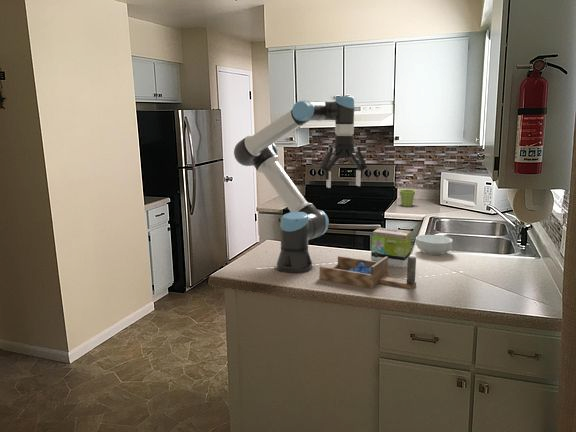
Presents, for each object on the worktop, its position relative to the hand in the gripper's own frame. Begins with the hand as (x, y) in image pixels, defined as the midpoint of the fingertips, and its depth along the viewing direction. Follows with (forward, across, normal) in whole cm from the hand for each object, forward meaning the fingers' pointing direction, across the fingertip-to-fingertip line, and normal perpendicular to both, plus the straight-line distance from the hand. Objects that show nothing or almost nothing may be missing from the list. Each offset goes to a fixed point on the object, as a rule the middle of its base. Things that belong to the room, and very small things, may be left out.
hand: (343, 186), depth 204 cm
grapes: (+31, -6, +18) cm, 37 cm away
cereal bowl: (+35, -50, -5) cm, 61 cm away
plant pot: (+35, -108, -118) cm, 164 cm away
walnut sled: (+35, -2, +20) cm, 40 cm away
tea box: (+35, -22, +3) cm, 41 cm away
